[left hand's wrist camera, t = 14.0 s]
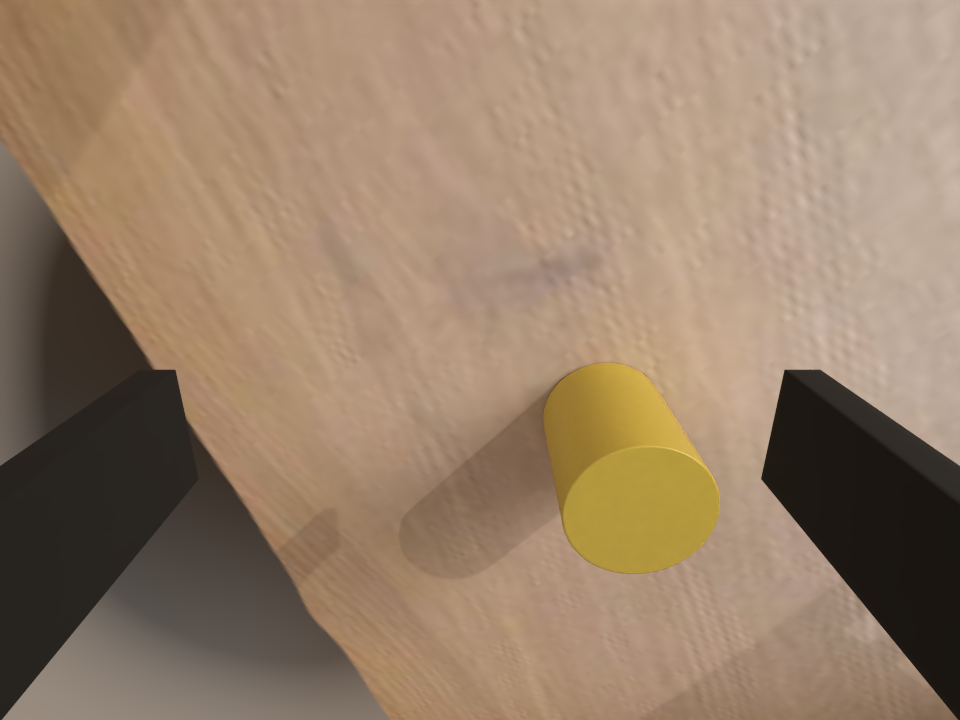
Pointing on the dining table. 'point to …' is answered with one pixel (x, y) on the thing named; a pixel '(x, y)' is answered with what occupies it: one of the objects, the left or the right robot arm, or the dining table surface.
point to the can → (626, 472)
